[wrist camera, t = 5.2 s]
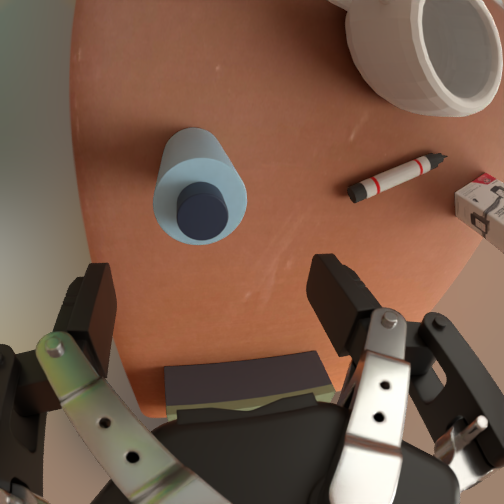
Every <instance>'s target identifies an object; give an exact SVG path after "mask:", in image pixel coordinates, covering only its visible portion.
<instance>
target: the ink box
mask: <svg viewBox="0 0 504 504" xmlns="http://www.w3.org/2000/svg"><path fill="white" fill-rule="evenodd" d="M455 214H456V217H457V218H458V219H460V220H461V221H463V222H464V223H465V224H467V225H468V226H469V227H471V228H472V229H473V230H475V231H476V232H477V233H479V234H480V235H481V236H483V237H484V238H485V239H486V240H488V241H489V242H490V243H491V244H493V245H494V246H495V247H496V248H498V249H499V250H500V251H501V252H502V253H504V183H503V182H501V181H499V180H498V179H496V178H494V177H492V176H491V175H489V174H487V173H484V174H483V175H481V176H480V177H478V178H477V179H475V180H474V181H472V182H471V183H469V184H467V185H466V186H464V187H463V188H461V189H460V190H458V191H456V192H455Z"/></svg>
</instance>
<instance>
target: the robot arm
mask: <svg viewBox="0 0 504 504" xmlns="http://www.w3.org/2000/svg"><path fill="white" fill-rule="evenodd" d="M306 293H307V298H308V300H309V302H310V304H311V306H312V308H313V309H314V311H315V313H316V315H317V317H318V319H319V320H320V322H321V324H322V326H323V328H324V330H325V332H326V333H327V335H328V337H329V339H330V341H331V343H332V345H333V347H334V348H335V350H336V352H337V354H338V356H339V357H343V356H348V355H350V356H351V357H352V360H351V362H350V364H349V368H348V371H347V374H346V378H345V381H344V384H343V388H342V391H341V394H340V397H339V400H338V402H337V404H333V403H329V402H322V401H317V400H316V398H315V396H314V393H313V392H311V393H307V394H301V395H296V396H291V397H285V398H281V399H278V400H276V401H274V402H271V403H269V404H266V405H264V406H261V407H259V408H256V409H254V410H250V411H242V410H231V409H222V408H213V407H209V408H196V409H180V410H176V412H177V419H176V420H172V421H169V422H167V423H164V424H162V425H160V426H159V427H157V428H155V429H154V430H153V431H151V432H150V431H149V430H148V429H147V428H146V427H145V426H144V425H143V424H142V422H141V421H140V420H139V419H138V418H137V417H136V416H135V414H134V413H133V412H132V411H131V410H130V409H129V407H128V406H127V405H126V404H125V403H124V402H123V400H122V399H121V398H120V397H119V395H118V394H117V393H116V392H115V390H113V388H112V387H111V385H110V384H109V383H108V382H107V380H106V379H105V378H107V373H108V364H109V356H110V349H111V342H112V335H113V329H114V323H115V317H116V311H117V300H116V294H115V289H114V284H113V280H112V275H111V270H110V265H109V263H90V264H89V265H88V268H87V270H86V273H85V276H84V277H77V278H76V279H75V280H74V281H73V282H72V283H71V284H70V286H69V288H68V290H67V293H66V297H65V298H64V301H63V305H62V306H61V309H60V312H59V314H58V317H57V320H56V323H55V326H54V329H53V332H51V333H49V334H47V335H45V336H44V337H43V338H41V339H40V340H39V342H38V344H37V346H36V349H35V350H32V351H28V352H24V353H19V354H15V353H14V351H13V350H12V348H11V347H10V346H8V345H5V344H0V504H50V503H49V502H48V501H47V500H46V499H44V498H43V454H44V453H43V452H44V438H45V437H44V436H45V426H46V416H47V414H48V412H49V411H53V410H58V409H61V408H63V410H64V412H65V414H66V415H67V417H68V418H69V420H70V422H71V423H72V425H73V427H74V428H75V430H76V431H77V433H78V434H79V436H80V437H81V438H82V440H83V442H84V443H85V444H86V446H87V447H88V449H89V450H90V452H91V453H92V454H93V456H94V457H95V459H96V460H97V461H98V463H99V464H100V465H101V466H102V468H103V469H104V470H105V472H106V473H107V474H108V475H109V477H110V478H111V479H110V480H109V482H108V483H107V484H106V485H105V486H104V488H103V489H102V490H101V491H100V492H99V494H98V495H97V496H96V497H95V498H94V500H93V501H92V502H91V503H90V504H460V493H461V492H462V491H464V490H467V489H470V488H472V487H473V486H475V485H477V484H478V483H480V482H482V481H483V480H484V479H486V478H488V477H489V476H491V475H492V474H494V473H495V472H497V471H498V470H500V469H501V468H502V467H504V395H503V394H502V392H501V390H500V389H499V387H498V386H497V384H496V383H495V381H494V380H493V379H492V377H491V375H490V374H489V373H488V371H487V370H486V368H485V367H484V365H483V364H482V363H481V361H480V360H479V358H478V357H477V356H476V354H475V353H474V351H473V350H472V349H471V347H470V346H469V345H468V343H467V342H466V341H465V340H464V338H463V337H462V335H461V334H460V333H459V331H458V330H457V329H456V328H455V326H454V325H453V324H452V322H451V321H450V320H449V319H448V318H447V317H445V316H444V315H442V314H439V313H436V312H430V313H427V314H426V315H425V316H424V318H423V320H422V322H421V323H420V322H408V321H406V320H405V318H404V317H403V316H402V315H401V314H400V313H399V312H397V311H395V310H393V309H391V308H385V307H382V306H381V305H380V304H379V302H378V301H377V300H376V298H375V297H374V296H373V295H372V293H371V292H370V291H369V289H368V288H367V287H365V284H364V283H363V282H362V281H360V278H359V277H358V275H357V274H356V273H355V272H354V271H353V270H352V269H350V268H349V267H347V266H346V265H342V264H341V263H340V261H339V260H338V259H337V258H336V256H335V255H334V254H332V253H331V254H315V255H314V256H313V259H312V263H311V268H310V272H309V277H308V281H307V286H306ZM436 360H437V361H438V363H439V364H440V366H441V367H442V369H443V371H444V372H445V374H446V377H447V382H446V385H445V387H444V386H443V384H442V383H441V381H440V380H439V378H438V376H437V375H436V373H435V371H434V370H433V368H432V365H433V364H434V362H435V361H436ZM408 393H409V395H410V396H411V398H412V400H413V402H414V404H415V406H416V407H417V410H418V411H419V414H420V415H421V417H422V419H423V421H424V423H425V425H426V427H427V429H428V431H429V433H430V435H431V437H432V439H433V441H434V443H435V447H434V453H435V454H434V455H433V456H432V455H430V454H428V453H426V452H424V451H422V450H420V449H418V448H417V447H415V446H413V445H411V444H409V443H407V442H405V441H403V440H402V435H403V429H404V422H405V415H406V408H407V400H408Z"/></svg>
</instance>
